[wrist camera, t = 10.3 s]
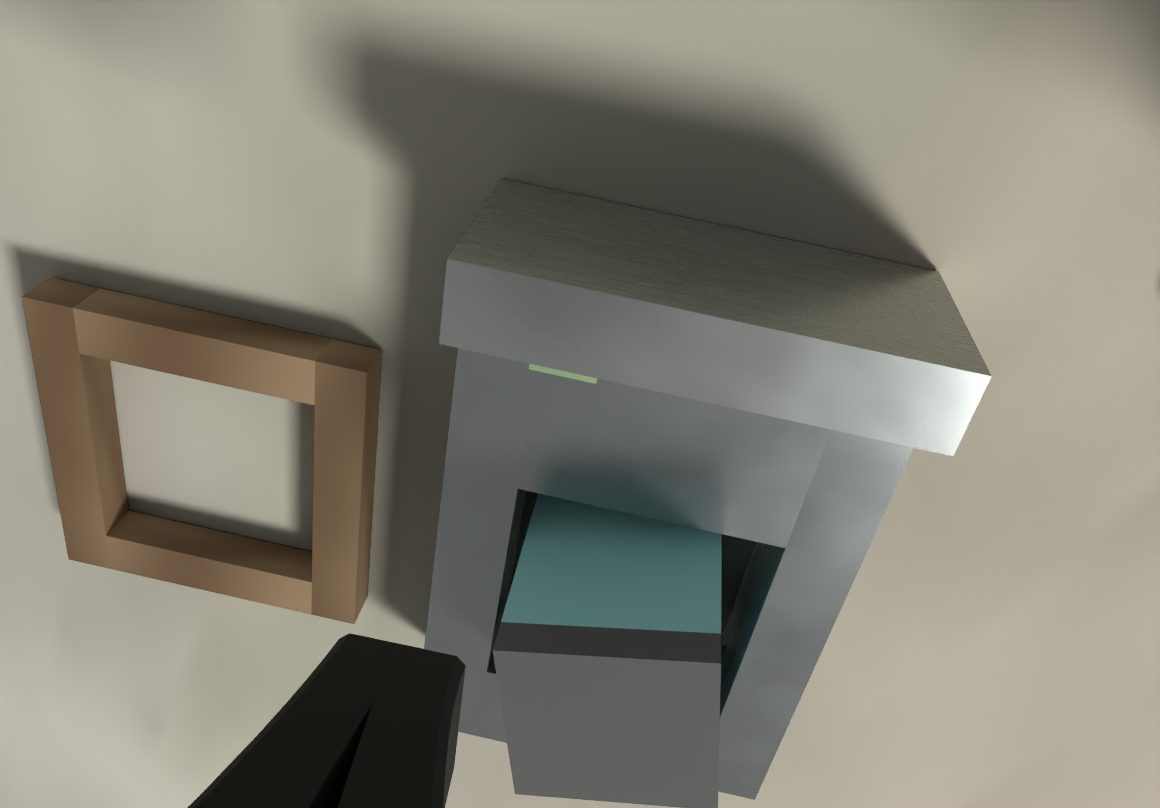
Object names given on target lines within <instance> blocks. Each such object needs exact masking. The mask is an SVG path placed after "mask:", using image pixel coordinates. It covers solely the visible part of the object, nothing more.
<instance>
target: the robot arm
mask: <svg viewBox="0 0 1160 808" xmlns="http://www.w3.org/2000/svg"><path fill="white" fill-rule="evenodd" d="M465 667H466V665H465V664H464V663H463V662H462V661H461V660H460V659H459V658H458V657H457V656H454V655H450V654H445V653H440V652H435V651H431V650H426V649H421V648H416V647H412V646H407V645H402V644H397V643H393V642H388V641H383V640H378V639H374V638H369V637H364V636H359V635H355V634H348V635H346V636H344V637H342V638H340V639H339V640H338V641H337V642H336V644H335V645H334V646H333V648H332V649H331V650H330V651H329V653H328V654H327V655H326V657H325V658H324V659H323V660H322V662H321V663H320V664H319V665H318V666H317V668H316V669H315V670H314V671H313V672H312V674H311V675H310V676H309V677H308V679H307V680H306V681H305V682H304V683H303V684H302V686H301V687H300V688H299V689H298V690H297V691H296V693H295V694H294V695H293V696H292V697H291V698H290V700H289V701H288V702H287V703H286V704H285V705H284V706H283V707H282V709H281V710H280V711H279V712H278V713H277V714H276V715H275V716H274V717H273V719H272V720H271V721H270V722H269V723H268V724H267V725H266V726H265V728H264V729H263V730H262V731H261V732H260V733H259V734H258V735H257V736H256V737H255V738H254V740H253V741H252V742H251V743H250V744H249V745H248V746H247V747H246V748H245V749H244V750H243V751H242V752H241V753H240V754H239V755H238V756H237V757H236V758H235V759H234V760H233V761H232V763H231V764H230V765H229V766H228V767H227V768H226V769H225V770H224V771H223V772H222V773H221V774H220V775H219V776H218V777H217V778H216V779H215V780H214V781H213V782H212V783H211V784H210V786H209V787H208V788H207V789H206V790H205V791H204V792H203V793H202V794H201V795H200V796H199V797H198V798H197V799H196V800H195V801H194V802H193V803H192V804H191V805H190V806H189V807H188V808H445V804H446V799H447V795H448V791H449V786H450V782H451V778H452V774H453V769H454V762H455V754H456V745H457V736H458V728H459V719H460V710H461V702H462V693H463V685H464V676H465Z"/></svg>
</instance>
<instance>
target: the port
mask: <svg viewBox="0 0 1160 808" xmlns="http://www.w3.org/2000/svg"><path fill="white" fill-rule="evenodd" d="M439 344H442V345H446V346H451V347H455V348H458V350H457V359H456V368H455V377H454V386H453V395H452V404H451V413H450V422H449V431H448V440H447V449H446V458H445V467H444V476H443V485H442V494H441V503H440V512H439V521H438V530H437V539H436V548H435V556H434V565H433V574H432V583H431V592H430V601H429V610H428V619H427V628H426V637H425V646H424V649H426V650H431V651H435V652H440V653H445V654H450V655H454V656H457V657H458V658H459V659H460V660H461V661H462V662H463V663H464V664H465V665H466V667H465V676H464V685H463V693H462V702H461V710H460V719H459V728H458V732H462V733H467V734H471V735H475V736H480V737H484V738H488V739H493V740H497V741H501V742H506V743H507V739H506V733H505V726H504V720H503V714H502V707H501V701H500V695H499V688H498V682H497V675H496V669H495V663H494V656H493V647H494V644H495V640H496V637H497V633H498V630H499V627H500V623H501V620H502V616H503V613H504V609H505V606H506V602H507V599H508V595H509V590H510V584H511V579H512V573H513V567H514V562H515V556H516V550H517V544H518V539H519V533H520V527H521V522H522V516H523V510H524V505H525V499H526V493H527V491H530V492H535V493H539V494H544V495H548V496H553V497H557V498H562V499H566V500H571V501H575V502H580V503H584V504H589V505H593V506H598V507H602V508H607V509H611V510H616V511H620V512H625V513H629V514H634V515H638V516H643V517H647V518H652V519H656V520H661V521H665V522H670V523H674V524H679V525H683V526H688V527H692V528H697V529H701V530H706V531H710V532H715V533H719V534H724V535H728V536H733V537H737V538H742V539H746V540H751V541H755V542H756V543H755V546H754V549H753V551H752V554H751V557H750V560H749V563H748V565H747V568H746V571H745V574H744V576H743V579H742V582H741V585H740V587H739V590H738V593H737V596H736V598H735V601H734V604H733V607H732V609H731V612H730V615H729V618H728V621H727V623H726V626H725V629H724V632H723V634H722V637H721V684H720V728H719V771H718V791H719V792H724V793H728V794H732V795H737V796H741V797H745V798H750V799H754V800H755V798H756V796H757V793H758V791H759V789H760V787H761V784H762V782H763V780H764V778H765V776H766V773H767V771H768V769H769V767H770V765H771V762H772V760H773V758H774V756H775V754H776V751H777V749H778V747H779V745H780V742H781V740H782V738H783V736H784V734H785V731H786V729H787V727H788V725H789V723H790V720H791V718H792V716H793V714H794V712H795V709H796V707H797V705H798V703H799V700H800V698H801V696H802V694H803V692H804V689H805V687H806V685H807V683H808V681H809V678H810V676H811V674H812V672H813V669H814V667H815V665H816V663H817V661H818V658H819V656H820V654H821V652H822V650H823V647H824V645H825V643H826V641H827V639H828V636H829V634H830V632H831V630H832V627H833V625H834V623H835V621H836V619H837V616H838V614H839V612H840V610H841V608H842V605H843V603H844V601H845V599H846V597H847V594H848V592H849V590H850V588H851V585H852V583H853V581H854V579H855V577H856V574H857V572H858V570H859V568H860V566H861V563H862V561H863V559H864V557H865V555H866V552H867V550H868V548H869V546H870V543H871V541H872V539H873V537H874V535H875V532H876V530H877V528H878V526H879V524H880V521H881V519H882V517H883V515H884V513H885V510H886V508H887V506H888V504H889V501H890V499H891V497H892V495H893V493H894V490H895V488H896V486H897V484H898V482H899V479H900V477H901V475H902V473H903V471H904V468H905V466H906V464H907V462H908V459H909V457H910V455H911V453H912V451H913V448H918V449H922V450H927V451H931V452H936V453H941V454H945V455H950V456H953V455H954V453H955V451H956V449H957V447H958V445H959V443H960V441H961V439H962V436H963V434H964V432H965V430H966V428H967V426H968V424H969V422H970V420H971V418H972V416H973V414H974V412H975V410H976V408H977V405H978V403H979V401H980V399H981V397H982V395H983V393H984V391H985V389H986V387H987V385H988V383H989V381H990V379H991V377H992V376H991V374H990V372H989V370H988V368H987V366H986V364H985V362H984V360H983V358H982V356H981V354H980V352H979V350H978V348H977V346H976V344H975V342H974V340H973V338H972V336H971V335H970V333H969V331H968V329H967V327H966V325H965V323H964V321H963V319H962V317H961V315H960V313H959V311H958V309H957V307H956V305H955V303H954V301H953V299H952V297H951V295H950V293H949V291H948V289H947V287H946V285H945V283H944V281H943V279H942V277H941V275H940V273H939V271H934V270H929V269H925V268H920V267H915V266H911V265H906V264H901V263H896V262H892V261H887V260H882V259H878V258H873V257H868V256H864V255H859V254H854V253H850V252H845V251H840V250H836V249H831V248H826V247H821V246H817V245H812V244H807V243H803V242H798V241H793V240H789V239H784V238H779V237H775V236H770V235H765V234H760V233H756V232H751V231H746V230H742V229H737V228H732V227H728V226H723V225H718V224H714V223H709V222H704V221H700V220H695V219H690V218H685V217H681V216H676V215H671V214H667V213H662V212H657V211H653V210H648V209H643V208H639V207H634V206H629V205H625V204H620V203H615V202H610V201H606V200H601V199H596V198H592V197H587V196H582V195H578V194H573V193H568V192H564V191H559V190H554V189H549V188H545V187H540V186H535V185H531V184H526V183H521V182H517V181H512V180H507V179H503V178H502V179H501V180H500V182H499V183H498V184H497V186H496V187H495V189H494V190H493V192H492V193H491V195H490V196H489V198H488V199H487V201H486V202H485V204H484V205H483V207H482V208H481V209H480V211H479V212H478V214H477V215H476V217H475V218H474V220H473V221H472V223H471V224H470V226H469V227H468V229H467V230H466V232H465V233H464V235H463V236H462V237H461V239H460V240H459V242H458V243H457V245H456V246H455V248H454V249H453V251H452V252H451V254H450V255H449V257H448V258H447V264H446V274H445V285H444V295H443V305H442V315H441V325H440V335H439Z"/></svg>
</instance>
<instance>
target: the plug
mask: <svg viewBox="0 0 1160 808" xmlns="http://www.w3.org/2000/svg"><path fill="white" fill-rule="evenodd" d="M721 562H722V534H719V533H715V532H710V531H706V530H701V529H697V528H692V527H688V526H683V525H679V524H674V523H670V522H665V521H661V520H656V519H652V518H647V517H643V516H638V515H634V514H629V513H625V512H620V511H616V510H611V509H607V508H602V507H598V506H593V505H589V504H584V503H580V502H575V501H571V500H566V499H562V498H557V497H553V496H548V495H544V494H539V493H538V495H537V499H536V502H535V506H534V509H533V513H532V516H531V520H530V523H529V526H528V530H527V533H526V537H525V540H524V544H523V547H522V551H521V554H520V558H519V561H518V564H517V568H516V571H515V575H514V578H513V582H512V585H511V589H510V592H509V595H508V599H507V602H506V606H505V609H504V613H503V616H502V620H501V623H500V627H499V630H498V633H497V637H496V640H495V644H494V647H493V656H494V663H495V669H496V675H497V682H498V688H499V695H500V701H501V707H502V714H503V720H504V726H505V733H506V739H507V745H508V752H509V758H510V765H511V771H512V777H513V784H514V790H515V794H522V795H534V796H546V797H559V798H571V799H583V800H596V801H608V802H621V803H633V804H645V805H658V806H670V807H682V808H718V771H719V728H720V684H721Z"/></svg>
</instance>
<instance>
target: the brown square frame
mask: <svg viewBox="0 0 1160 808" xmlns="http://www.w3.org/2000/svg"><path fill="white" fill-rule="evenodd" d="M22 300H23V306H24V312H25V317H26V323H27V328H28V334H29V340H30V345H31V351H32V357H33V362H34V368H35V373H36V379H37V385H38V390H39V396H40V401H41V407H42V413H43V418H44V424H45V429H46V435H47V441H48V446H49V452H50V457H51V463H52V469H53V474H54V480H55V485H56V491H57V497H58V502H59V508H60V513H61V519H62V525H63V530H64V536H65V541H66V547H67V553H68V558H69V559H70V560H74V561H79V562H83V563H87V564H92V565H96V566H101V567H105V568H109V569H114V570H118V571H123V572H127V573H131V574H136V575H140V576H145V577H149V578H153V579H158V580H162V581H167V582H171V583H176V584H180V585H184V586H189V587H193V588H198V589H202V590H206V591H211V592H215V593H220V594H224V595H228V596H233V597H237V598H242V599H246V600H250V601H255V602H259V603H264V604H268V605H272V606H277V607H281V608H286V609H290V610H294V611H299V612H303V613H308V614H312V615H316V616H321V617H325V618H330V619H334V620H338V621H343V622H347V623H352V624H354V623H355V621H356V619H357V617H358V615H359V613H360V611H361V609H362V607H363V604H364V602H365V600H366V598H367V595H368V579H369V562H370V546H371V529H372V513H373V496H374V480H375V463H376V446H377V430H378V413H379V397H380V380H381V364H382V350H380V349H375V348H371V347H366V346H362V345H357V344H353V343H348V342H344V341H339V340H334V339H330V338H325V337H321V336H316V335H312V334H307V333H302V332H298V331H293V330H289V329H284V328H280V327H275V326H270V325H266V324H261V323H257V322H252V321H248V320H243V319H239V318H234V317H229V316H225V315H220V314H216V313H211V312H207V311H202V310H197V309H193V308H188V307H184V306H179V305H175V304H170V303H165V302H161V301H156V300H152V299H147V298H143V297H138V296H133V295H129V294H124V293H120V292H115V291H111V290H106V289H101V288H97V287H92V286H88V285H83V284H79V283H74V282H70V281H65V280H60V279H56V278H51V279H49V280H47V281H46V282H44V283H43V284H41V285H40V286H38V287H36V288H35V289H33V290H32V291H30V292H29V293H27V294H25V295H24V296H22ZM110 360H111V361H116V362H120V363H125V364H129V365H134V366H138V367H143V368H148V369H152V370H157V371H161V372H166V373H170V374H175V375H179V376H184V377H188V378H193V379H197V380H202V381H206V382H211V383H215V384H220V385H224V386H229V387H233V388H238V389H243V390H247V391H252V392H256V393H261V394H265V395H270V396H274V397H279V398H283V399H288V400H292V401H297V402H301V403H306V404H310V405H314V471H313V538H312V552H310V551H305V550H301V549H296V548H292V547H287V546H283V545H279V544H274V543H270V542H265V541H261V540H256V539H252V538H247V537H243V536H239V535H234V534H230V533H225V532H221V531H216V530H212V529H208V528H203V527H199V526H194V525H190V524H185V523H181V522H176V521H172V520H168V519H163V518H159V517H154V516H150V515H145V514H141V513H137V512H132V511H129V509H128V501H127V494H126V486H125V478H124V470H123V462H122V454H121V446H120V438H119V430H118V422H117V414H116V406H115V398H114V390H113V382H112V375H111V367H110Z"/></svg>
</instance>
